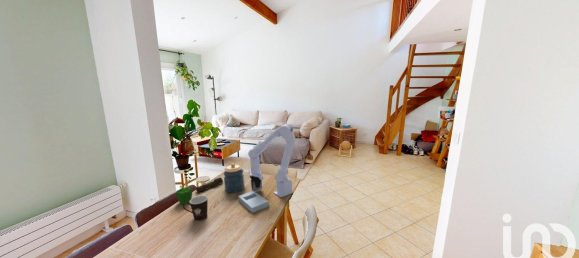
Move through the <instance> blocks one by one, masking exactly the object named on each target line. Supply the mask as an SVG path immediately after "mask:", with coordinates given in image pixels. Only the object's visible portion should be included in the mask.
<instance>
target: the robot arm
mask: <svg viewBox="0 0 579 258" xmlns="http://www.w3.org/2000/svg"><path fill="white" fill-rule="evenodd" d="M280 137H282V138H283V139H284V141H286V144H285V148H284V151H283V155H282V158H281V163H280V165H279V167H278V170H277V172H276V173H275V176H274V179H275V182H276V183H275V184H276V188H275V189H276V191H273V194H275V195H276V196H277V197H280V198H283V197H286V196H288V195H290V194H293V193H294V192H293V182H292V180H291V178H289V177H288V174H289V164H290V162H291V157H292V154H293V151H294V147H295V144H296V136H295V132H294V127H293V126H292V125H291V124H289V123H284V124H283V125H281V126H280V127H278V128H276V129H275V130H274V131H273V132H272V133H270V135H269V136H267V137H266V138H265V139H260V140H259V141H258V142H257V144H256V145H253V147H252V148H251V149H249V151H248V153H247V155H248V157H249V160H250V162H249V163H250V170H248V172H249V178H250V179H251V180H253V179H254V181H255V184H256V188H259V187H260V183H261V180H262V181H263V180H264V176H263V174H262V172H261V161H260V160H261V159H260V155H261V153H263V152H264V151H265V150H266V149H267V148H268V147H269V144H270V143H271V142H272V141H273V140H274V139H276V138H280ZM251 180H250V181H251Z"/></svg>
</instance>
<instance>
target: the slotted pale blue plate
mask: <svg viewBox="0 0 579 258" xmlns="http://www.w3.org/2000/svg"><path fill="white" fill-rule="evenodd" d="M238 202H239V203H241V204H242V205H243V206H244V208H246V209H247V210H248V211H249V212H251V214H254V213H255V212H258V211H261V210H264V209H266V208H268V207H269V201H268V200H267V199H266V198H264V197H262V195H260V194H258V193H257V191H255V192H254V191H252V190H251V191H249V192H246V193H243V194H241V195H238Z"/></svg>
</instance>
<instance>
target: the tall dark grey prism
mask: <svg viewBox="0 0 579 258" xmlns="http://www.w3.org/2000/svg"><path fill="white" fill-rule="evenodd" d="M250 186H251V191H254V192H258V191H261V190H263V179H262V180H261V183H260V187H259V188H256V184H255V181H254V179H253V180H250Z"/></svg>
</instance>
